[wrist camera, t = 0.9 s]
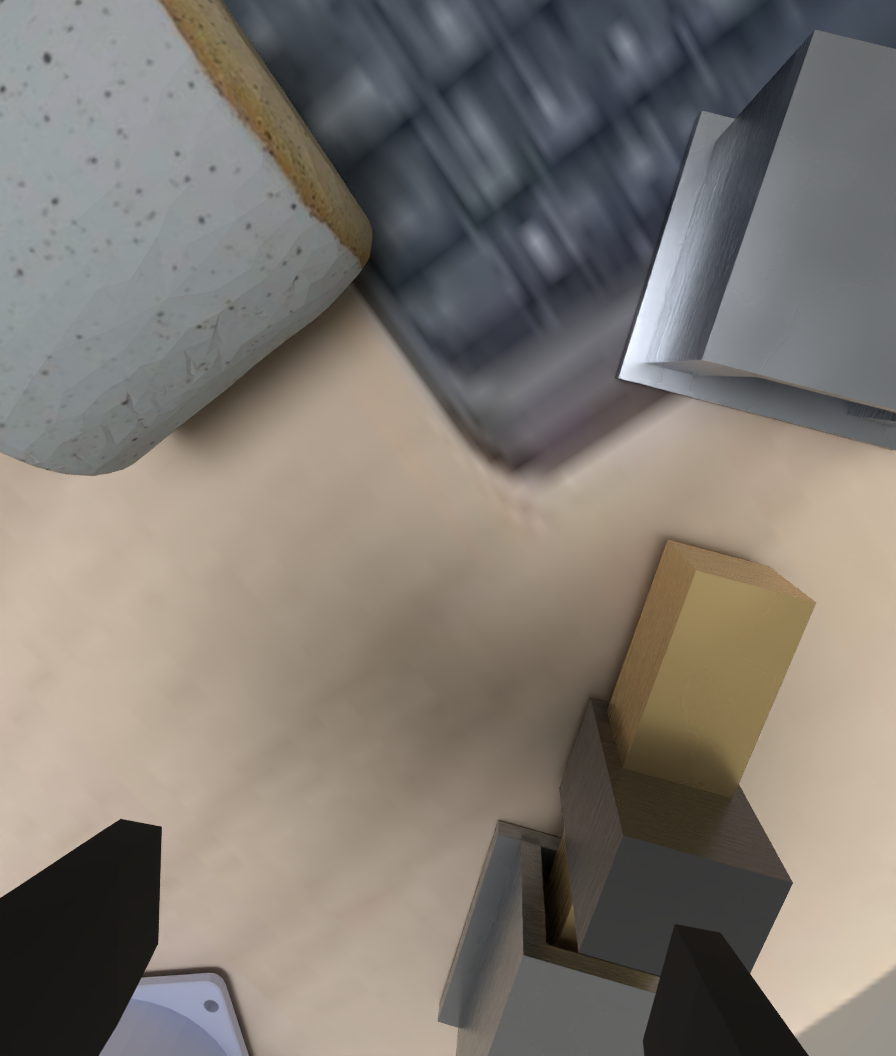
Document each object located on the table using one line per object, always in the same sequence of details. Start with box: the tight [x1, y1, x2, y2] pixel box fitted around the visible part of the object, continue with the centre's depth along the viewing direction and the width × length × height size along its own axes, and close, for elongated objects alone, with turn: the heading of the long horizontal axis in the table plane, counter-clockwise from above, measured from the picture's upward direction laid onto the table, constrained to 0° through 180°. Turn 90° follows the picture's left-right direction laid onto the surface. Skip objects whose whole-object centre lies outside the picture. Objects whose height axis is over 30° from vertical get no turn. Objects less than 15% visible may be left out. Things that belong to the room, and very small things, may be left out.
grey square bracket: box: [616, 30, 896, 450], centre depth 13 cm, size 6×7×5 cm
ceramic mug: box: [0, 0, 373, 476], centre depth 13 cm, size 11×8×8 cm
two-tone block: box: [543, 540, 816, 976], centre depth 16 cm, size 17×3×6 cm, turn 166°
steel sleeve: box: [438, 821, 660, 1056], centre depth 19 cm, size 8×6×4 cm
